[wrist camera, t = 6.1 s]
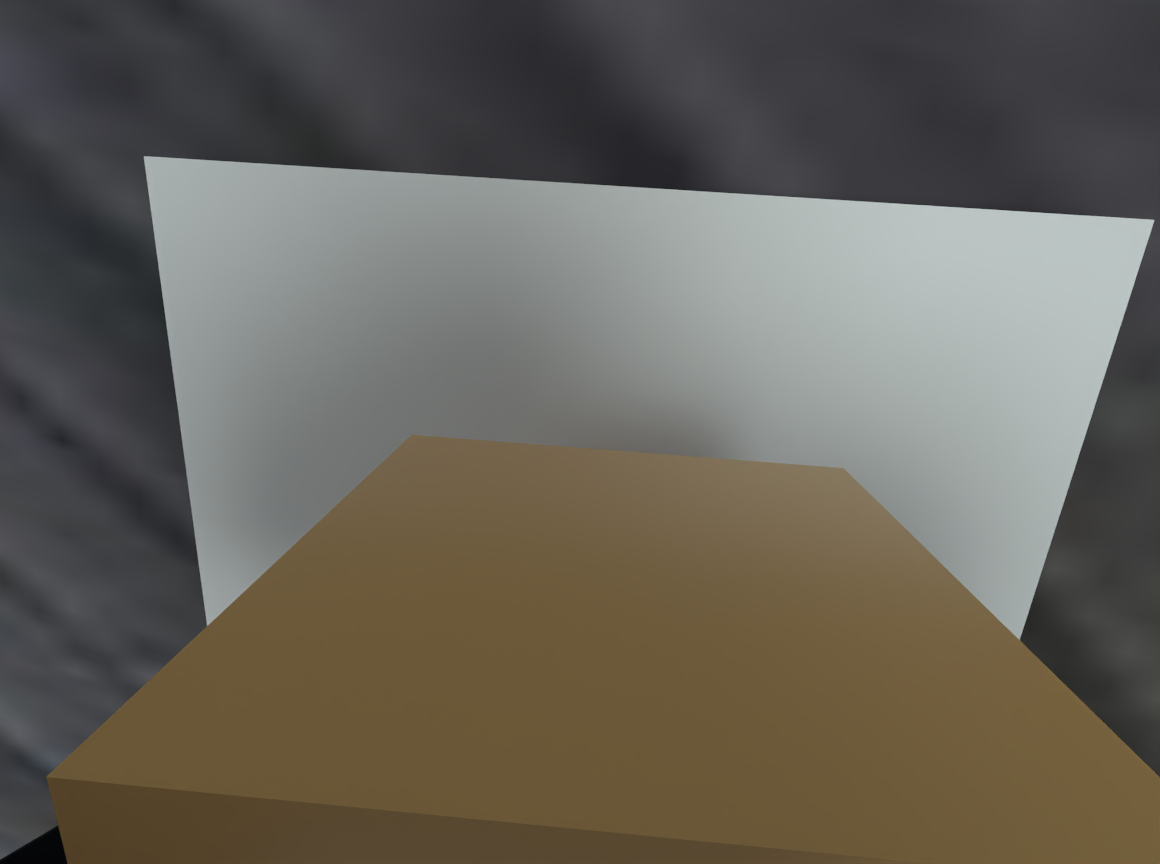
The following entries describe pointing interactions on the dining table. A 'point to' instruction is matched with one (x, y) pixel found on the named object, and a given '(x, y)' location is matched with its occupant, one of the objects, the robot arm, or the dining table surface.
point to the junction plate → (630, 344)
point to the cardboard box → (605, 688)
